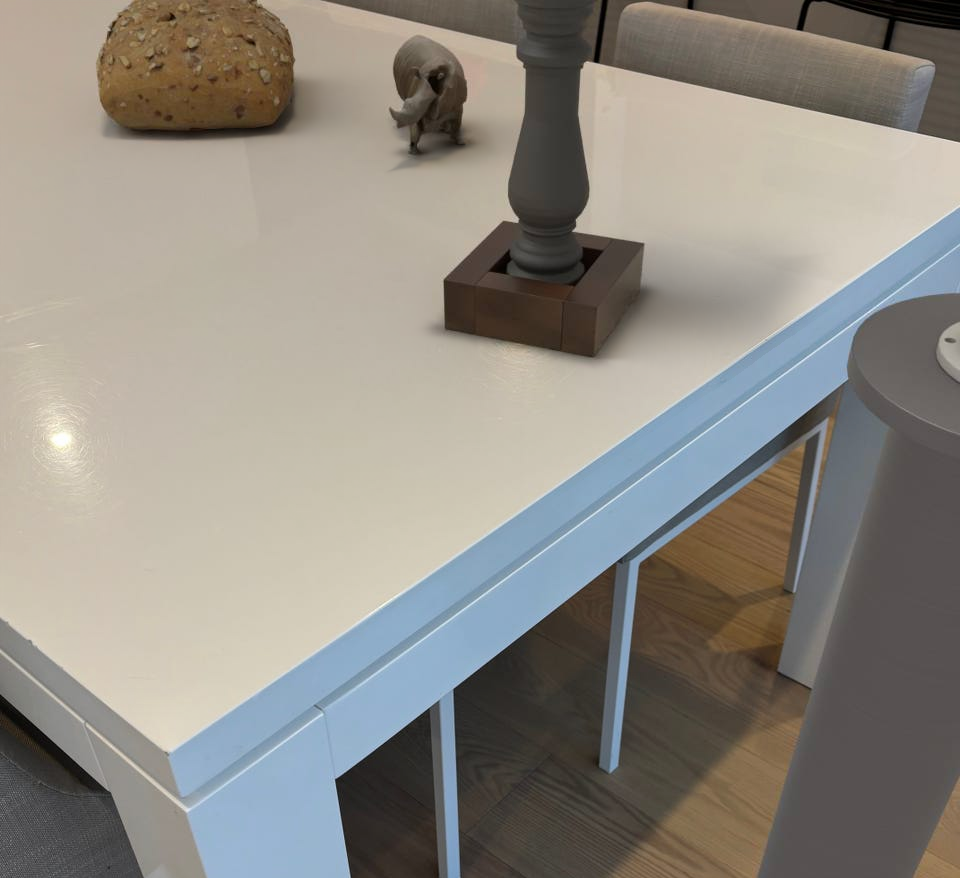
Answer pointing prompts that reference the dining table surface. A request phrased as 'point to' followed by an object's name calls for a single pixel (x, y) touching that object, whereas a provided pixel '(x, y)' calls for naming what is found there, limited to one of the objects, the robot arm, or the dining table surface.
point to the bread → (195, 65)
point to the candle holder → (550, 143)
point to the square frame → (543, 294)
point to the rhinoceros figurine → (429, 89)
